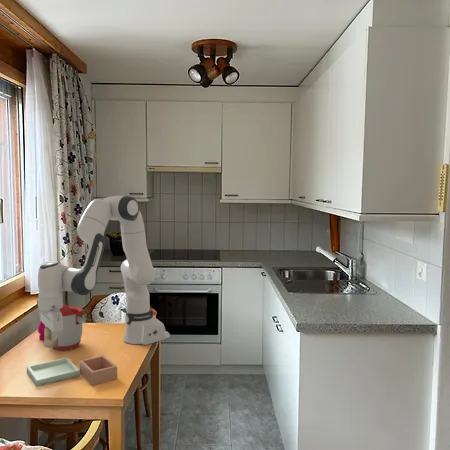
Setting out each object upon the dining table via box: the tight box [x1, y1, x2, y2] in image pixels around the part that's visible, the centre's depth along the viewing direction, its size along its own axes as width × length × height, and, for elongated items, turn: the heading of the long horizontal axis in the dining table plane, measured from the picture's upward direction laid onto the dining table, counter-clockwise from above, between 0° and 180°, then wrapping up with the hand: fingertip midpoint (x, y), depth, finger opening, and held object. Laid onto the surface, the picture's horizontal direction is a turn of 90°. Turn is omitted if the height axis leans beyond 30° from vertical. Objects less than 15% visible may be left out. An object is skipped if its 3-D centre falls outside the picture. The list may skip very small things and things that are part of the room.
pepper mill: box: [37, 321, 45, 342], centre depth 219 cm, size 7×7×20 cm
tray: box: [26, 357, 81, 387], centre depth 180 cm, size 16×16×2 cm
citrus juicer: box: [52, 303, 87, 351], centre depth 209 cm, size 16×17×20 cm
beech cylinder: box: [43, 327, 58, 349], centre depth 178 cm, size 5×5×7 cm
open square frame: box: [78, 355, 118, 386], centre depth 178 cm, size 10×14×5 cm
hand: (51, 337), depth 178 cm, fingers closed on beech cylinder, 5 cm apart
